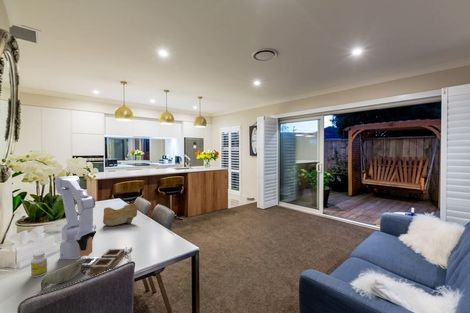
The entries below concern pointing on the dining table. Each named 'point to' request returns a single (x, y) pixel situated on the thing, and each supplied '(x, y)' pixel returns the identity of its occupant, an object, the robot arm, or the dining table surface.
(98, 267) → the rack
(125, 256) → the pliers
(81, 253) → the peg
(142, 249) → the dining table surface
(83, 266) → the socket
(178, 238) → the dining table surface
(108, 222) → the rough brown rock
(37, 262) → the supplement bottle
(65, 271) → the decorative bird
